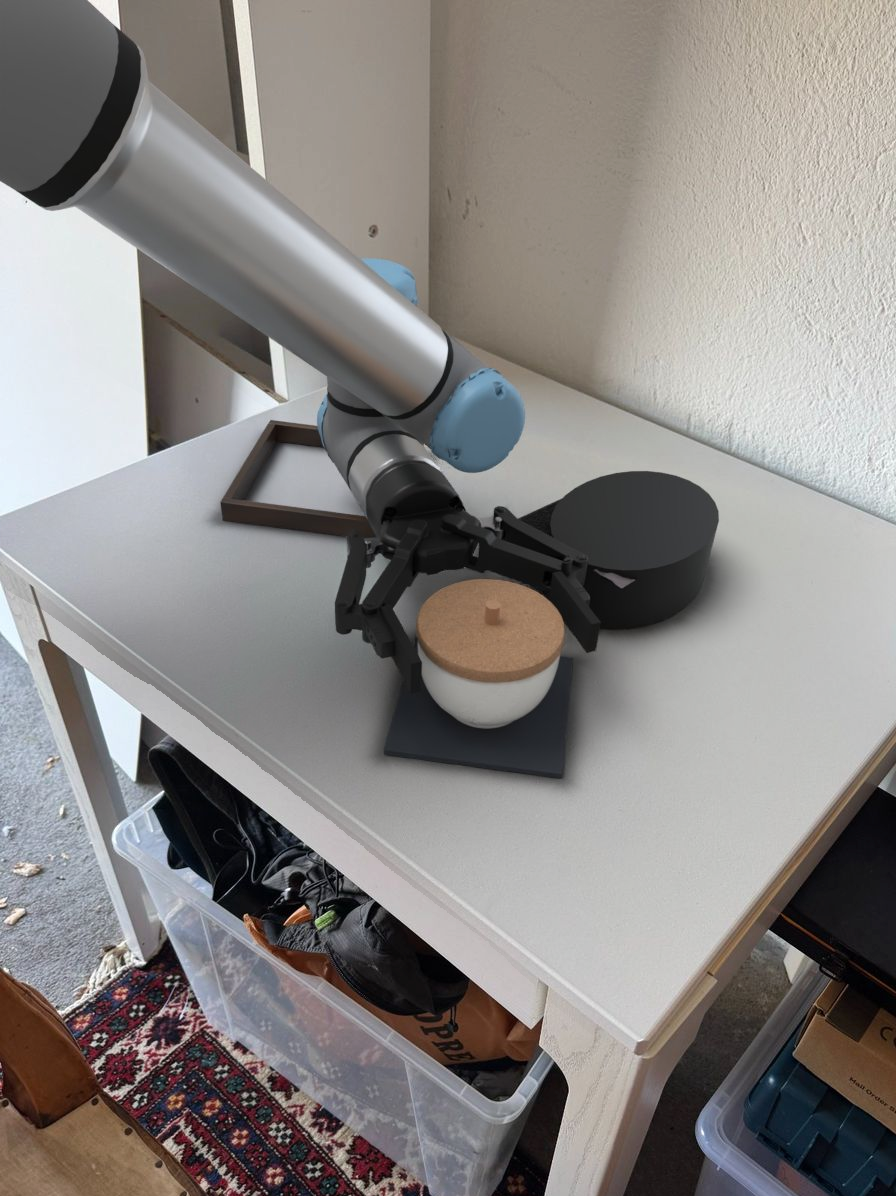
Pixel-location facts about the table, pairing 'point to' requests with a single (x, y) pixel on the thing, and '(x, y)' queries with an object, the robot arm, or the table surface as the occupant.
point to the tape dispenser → (635, 543)
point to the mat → (485, 732)
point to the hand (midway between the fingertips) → (508, 657)
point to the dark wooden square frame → (280, 514)
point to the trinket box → (488, 650)
